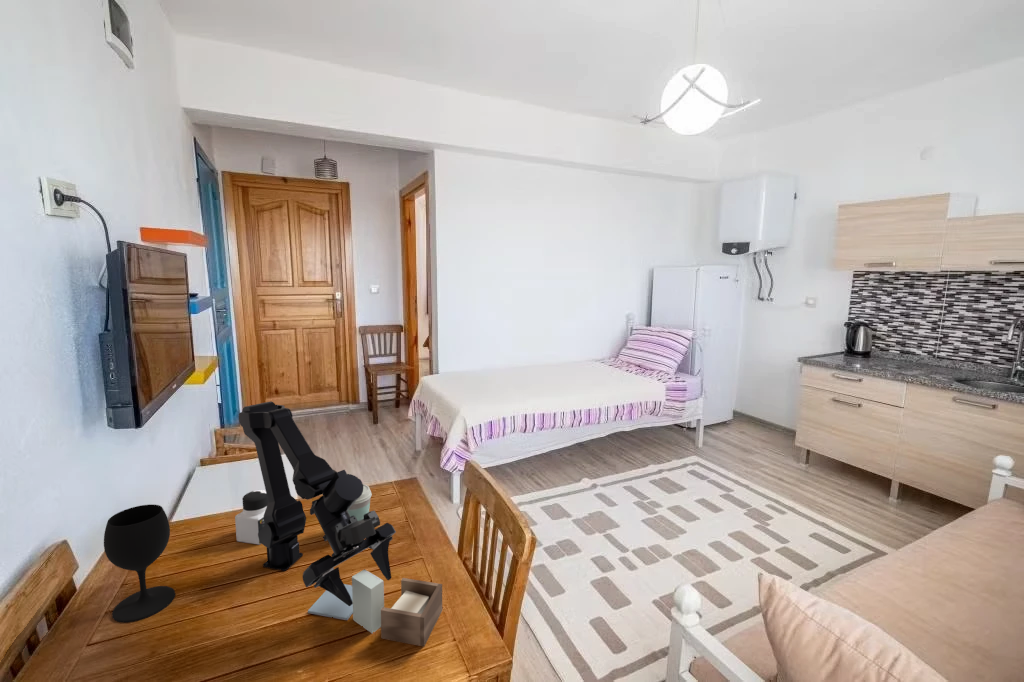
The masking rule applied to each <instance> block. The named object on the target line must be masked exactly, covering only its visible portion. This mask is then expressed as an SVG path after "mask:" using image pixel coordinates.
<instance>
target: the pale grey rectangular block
mask: <svg viewBox="0 0 1024 682" xmlns="http://www.w3.org/2000/svg"><path fill="white" fill-rule="evenodd" d="M384 584H385V583H384V580H383V579H381V578H380V577H378V576H377V575H375V574H374V573H372V572H370V571H368V570H367V569H363V570H361V571H359V572H357V573H356V574H354V575H352V576H351V585H352V599H353V614H352V620H353V621H354V622H355V623H357V624H358V625H360V626H361V627H362V626H363V627H362V628H364V629H365V630H367V632H369V633H371V634H374V633H375V632H376V631H377V630H380V629H381V609H382V607H385V585H384ZM373 632H374V633H373Z"/></svg>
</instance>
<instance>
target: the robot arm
mask: <svg viewBox="0 0 1024 682" xmlns="http://www.w3.org/2000/svg"><path fill="white" fill-rule="evenodd" d="M238 423H239V424H240V426H241V427H242V429H243V433H244V435H245V436H246V437H248V438H249V439H250V440H251V441H252V442H253V443H254V445H255V450H256V454H257V459H258V463H259V467H260V471H261V476H262V480H263V484H264V489H265V491H266V494H267V498H268V505H267V508H266V510H265V513H264V523H265V525H264V526H263V527H262V529H261V530H260V531H259V533H258V537H259V542H260V543H261V544H260V545H263V546H264V547H266V559H267V560H266V561H265V562H264V563H263V564H262V567H263V568H264V569H271V570H278V571H283V572H284V571H287V570H289V569H290V568H291V567H292V566H293V565H294V564H295V563H296V562H298V561H299V560H300V559H301V558H302V557H303V555H304V553H303V552H301V551H300V542H299V540H298V538H299V537H298V536H299V535H301V534H304V532H305V527H306V522H307V516H306V513H305V511H304V507H303V502H301V500H311V499H314V498H316V497H319V496H320V497H319V498H317V499H314V500H312V501H311V506H310V508H309V515H311V516H312V515H315V516H316V517H315V518H316V519H317V521H318V523H319V526H320V527H321V529H322V531H323V534H324V535H323V536H322V538H323V541H324V542H327V541H328V544H329V546H330V548H331V550H332V551H333V552H332V554H331V555H330V554H326V555H323V556H322V557H320V558H318V559H317V560H315V561H313V562H311V563H310V564H309V565H308V566H307V567H306V569H305V570H304V571H303V573H302V580H303V584H304V585H305V588H309V587H311V586H312V585H313V587H314V588H315V589H316V588H318V587H320V588H321V589H324V591H326V590H327V591H329V592H330V593H332V594H333V595H335V596H336V597H337V598H339V599H340V600H341V601H343V602H344V603H345V604H347V605H348V606H351V605H352V604H353V602H352V599H351V597H350V595H349V593H348V591H347V589H346V587H345V585H344V584H345V583H344V582H343V580H342V578H341V575H340V567H339V565H340V564H342V563H344V562H345V561H347V560H349V559H350V558H351V559H352V558H353V557H355V556H356V555H358V554H360V553H362V552H363V551H366V550H367V549H371V550H372V551H371V552H370V553H369V554H370V556H371V558H372V559H373V560H374V562H375V564H376V565H377V567H378V569H379V570H380V572H381V573H382V575H383V576H384V578H385V579H386V580H387V581H390V580H391V579H392V573H391V571H392V570H391V566H390V559H389V557H390V556H389V545H390V543H391V541H392V540H393V535H395V534H396V533H397V531H396V530H395V528H394V526H393V525H392V524H390V523H388V522H386V523H384V524H382V525H381V521H380V517H379V516H378V514H377V512H376V510H369V512H368V513H366V514H364V519H362V520H360V521H358V520H357V519H356V517H355V516H354V515H353V516H350V515H349V513H348V511H347V510H348V509H349V508H350V507H351V506H352V505H353V504H354V503H355V502H356V500H357V499H358V498H359V497H360V496H361V495H362V492H363V484H364V483H363V481H362V480H361V478H358V476H356V475H354V474H350V473H347V471H346V469H342V470H339V471H336V470H335V469H334V468H332V467H331V466H330V464H329V463H328V462H327V460H326V459H324V458H323V457H320V456H318V455H316V454H315V452H313V450H312V448H311V446H310V445H309V444H308V442H307V440H306V439H305V437H304V435H303V433H302V432H301V430H300V429H299V427H298V426H297V423H296V421H294V418H293V413H292V411H291V409H290V408H288V407H285V405H282V404H275V402H274V401H266V402H261V403H257V404H256V403H255V404H251V405H246V406H244V407H243V408H242V409H241V412H239V413H238ZM281 449H282V451H281ZM282 452H283V453H284V454H285V457H286V458H287V460H288V461H289V464H290V465H291V467H292V470H293V474H292V484H293V486H294V490H295V492H296V494H297V495H298V496H299V497H300V498H301V500H297V499H295V497H294V496H292V494H291V490H290V486H289V482H288V481H289V480H288V478H287V474H286V470H285V469H286V468H285V465H284V462H283V461H284V460H283V458H282V457H283V456H282Z"/></svg>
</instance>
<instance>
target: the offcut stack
mask: <svg viewBox="0 0 1024 682" xmlns="http://www.w3.org/2000/svg"><path fill="white" fill-rule="evenodd" d="M428 602H429V596H425V595H421V594H417V593H414V592H410V591H405V592H404V594H403V595H402V596H400V597H399V598H398V599H397V601H396V602H395V603H394V604H393V605H392V607H391V609H396V610H402V611H407V612H413V613H419V614H422V613H423V611H424V609H425V607H426V605H427V604H428Z"/></svg>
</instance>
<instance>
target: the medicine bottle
mask: <svg viewBox="0 0 1024 682" xmlns="http://www.w3.org/2000/svg"><path fill="white" fill-rule="evenodd" d="M267 505H268V498H267V494H266V489H265V490H264V489H260V490H259V489H257V490H252V491H249V492H247V493H246V494H244V495H243V496H242V511H241V512H239V513H238V514H235V516H234V522H235V534H236V535H235V536H236V538H235V539H236V542H240V543H246V544H253V545H262V544H261V543H260V542H259V537H258V533H259V531H260V530H261V529H262V527H263V526H264V525H265V523H264V513H265V510H266V508H267Z"/></svg>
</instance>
